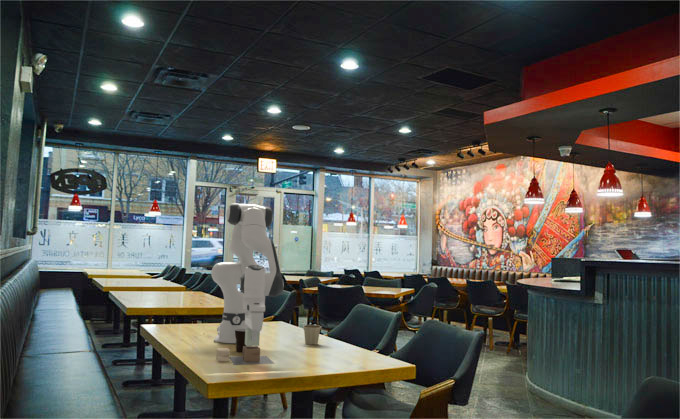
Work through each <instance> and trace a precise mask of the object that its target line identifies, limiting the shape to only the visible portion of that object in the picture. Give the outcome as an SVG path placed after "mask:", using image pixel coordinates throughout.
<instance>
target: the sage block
mask: <svg viewBox="0 0 680 419" xmlns="http://www.w3.org/2000/svg"><path fill="white" fill-rule="evenodd" d="M260 332H261V331H257V336H256V341H252V340H251V336H252V330H251V329H245V345H246V346H258V347H259V346H260V335H261V334H260Z"/></svg>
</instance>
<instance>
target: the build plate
mask: <svg viewBox="0 0 680 419" xmlns="http://www.w3.org/2000/svg"><path fill="white" fill-rule="evenodd" d="M242 357H243V355H241V356H239V355H238V356H229V361H231V363H232V364H233V366H240V365H241V366H242V365H247V366H248V365H269V364H270V365H273V364H275V362H274V361H273V360H272V359H271V358H270V357H268V355H260V361H254V362H245V361H244V360H243V359H242Z"/></svg>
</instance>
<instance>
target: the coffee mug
mask: <svg viewBox="0 0 680 419" xmlns="http://www.w3.org/2000/svg"><path fill="white" fill-rule="evenodd" d="M235 339H236V343H235V352H237V353H242V354H243V346H246V345H245V329H235Z"/></svg>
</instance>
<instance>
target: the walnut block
mask: <svg viewBox="0 0 680 419" xmlns="http://www.w3.org/2000/svg"><path fill="white" fill-rule="evenodd" d="M242 356H243V357H242V359H243V360H244V361H245V362H254V361H260V356H261V348H260V347H259V346H243V353H242Z"/></svg>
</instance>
